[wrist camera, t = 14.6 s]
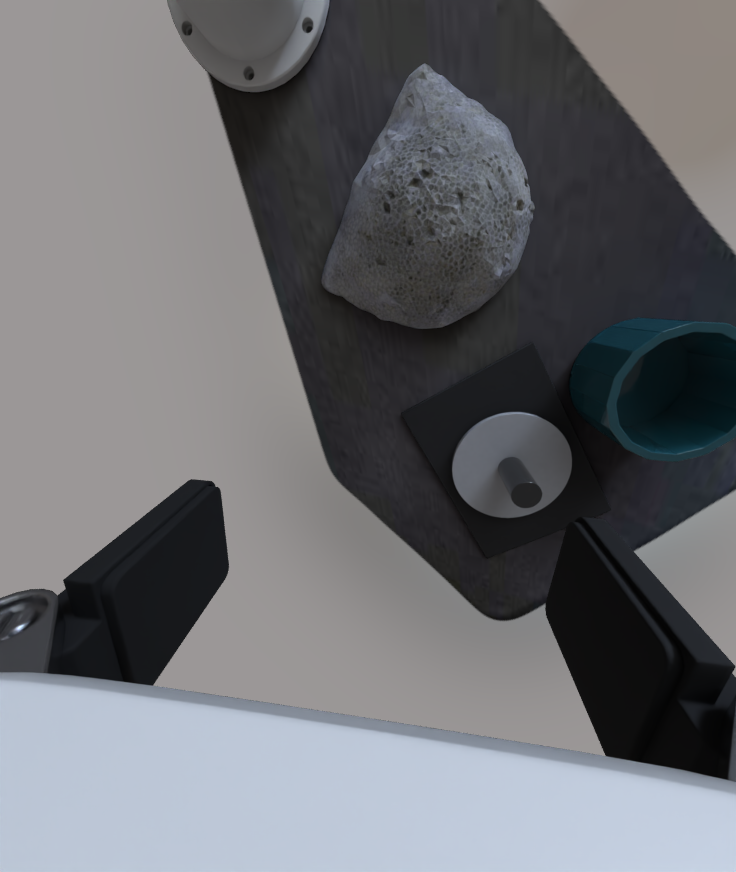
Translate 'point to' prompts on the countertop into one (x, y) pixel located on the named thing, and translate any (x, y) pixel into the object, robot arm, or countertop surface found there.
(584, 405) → the pot
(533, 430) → the lid
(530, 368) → the mat
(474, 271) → the stone
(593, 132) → the countertop surface
